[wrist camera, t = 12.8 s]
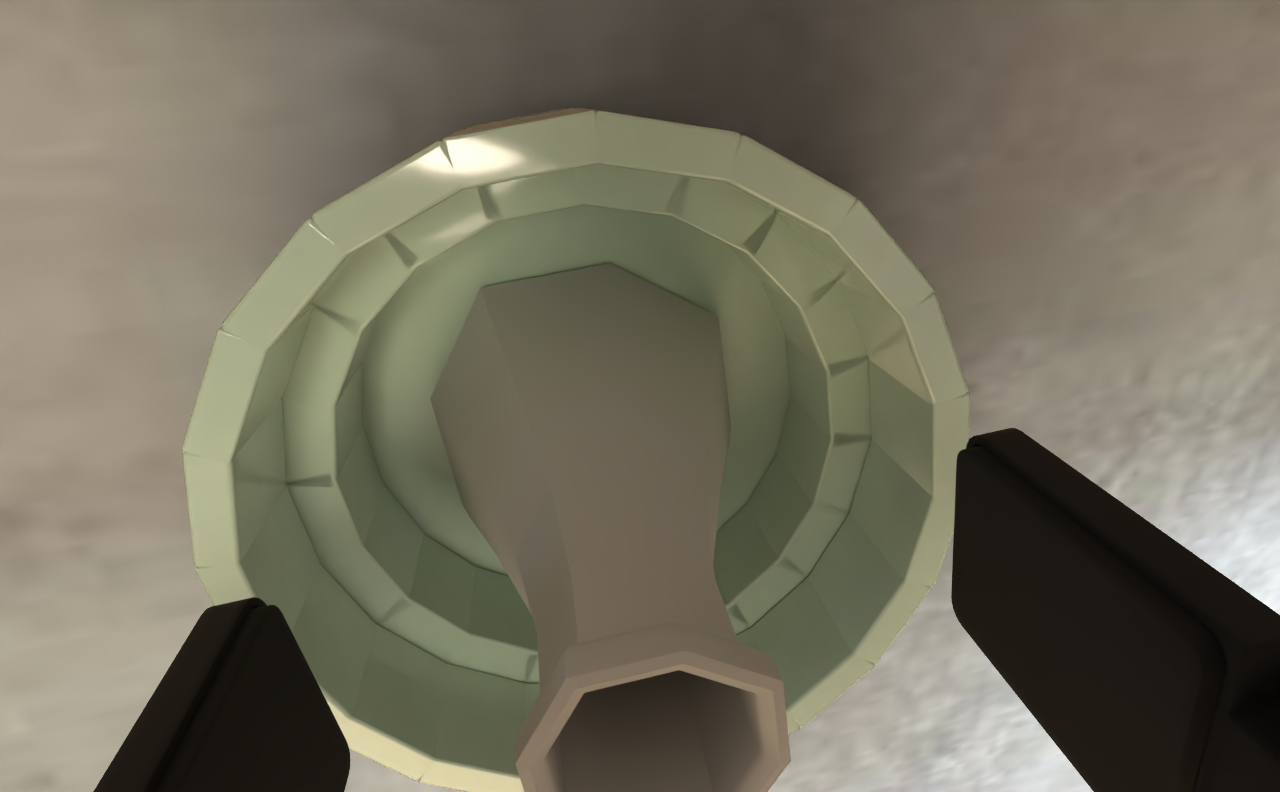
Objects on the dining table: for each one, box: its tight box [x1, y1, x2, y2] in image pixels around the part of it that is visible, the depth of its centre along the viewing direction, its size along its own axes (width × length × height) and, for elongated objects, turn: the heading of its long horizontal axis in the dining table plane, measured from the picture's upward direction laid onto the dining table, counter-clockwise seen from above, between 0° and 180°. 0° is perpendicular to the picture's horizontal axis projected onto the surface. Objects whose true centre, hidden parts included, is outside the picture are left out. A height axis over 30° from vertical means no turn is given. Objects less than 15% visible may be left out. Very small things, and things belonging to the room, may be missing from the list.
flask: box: [430, 263, 791, 792], centre depth 12 cm, size 7×7×10 cm
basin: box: [182, 108, 970, 792], centre depth 15 cm, size 13×13×6 cm
